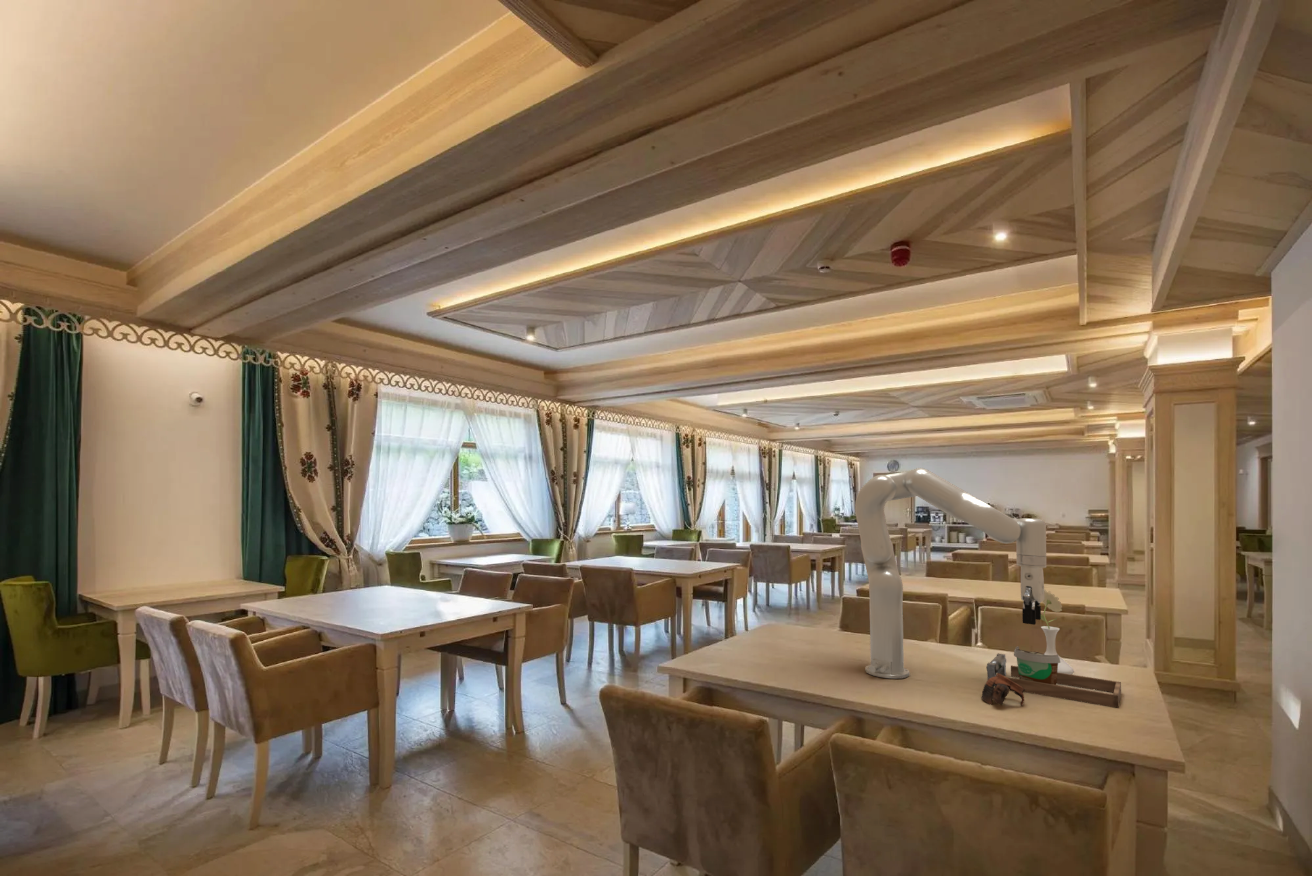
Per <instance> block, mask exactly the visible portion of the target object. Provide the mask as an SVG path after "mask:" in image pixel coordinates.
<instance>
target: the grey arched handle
mask: <svg viewBox="0 0 1312 876" xmlns="http://www.w3.org/2000/svg"><path fill="white" fill-rule="evenodd" d="M1006 664H1007V658H1006V654H1004V653H997V654H996V656H995V657H994V658H993V659H992V660H991V661H989V662H988V663H986V668H985V669H986V671H987V672H986V677H987V680H988V679H990V678H992V677H995V676H996V675H997V673H999V674H1001V675H1003V676H1005V677H1006V676H1007V665H1006ZM994 686H995V687H996V685H995V684H994ZM995 687H994V688H995Z"/></svg>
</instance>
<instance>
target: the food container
mask: <svg viewBox="0 0 1312 876" xmlns="http://www.w3.org/2000/svg"><path fill="white" fill-rule="evenodd" d="M1058 655H1059V654H1058ZM1058 655H1044V653H1041V652H1039V651H1038V652H1037V651H1028V650H1022V649H1020V646H1019V645H1018V646H1016V647H1015V649H1014V652H1013V656H1014V657H1016V663H1017V666H1018V672H1019V678H1018V679H1022V680H1029V681H1035V682H1041V683H1047V684H1053V685H1058V684H1057V670H1058V663H1060V658H1059V657H1058Z"/></svg>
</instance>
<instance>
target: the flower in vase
mask: <svg viewBox="0 0 1312 876" xmlns="http://www.w3.org/2000/svg"><path fill="white" fill-rule="evenodd" d="M1044 595H1045V599H1044V600H1043V601H1042V602H1041V603H1042V604H1044V610H1043V614H1041V619H1040V620H1042V621H1043V622H1045V623H1046V626H1045V625H1043V626H1040V628H1041V629H1042V631H1043V633H1044V636H1045V641H1046V650H1045V652H1044V653H1043V654H1044V655H1058V657H1059V658H1060V663H1058V670H1057V672H1058V673H1065V674H1071V675H1074V672H1075V670H1074V668H1073V666H1071V665H1070V663H1068V662H1067V661H1066V660H1065V659H1064V658H1063V657H1061V656H1060V655H1059V654H1058V653H1057V650H1056V649H1057V648H1056V637H1057V634H1058V632H1059V631H1060V628H1059V627H1057V626H1050V625H1049V623H1051V622H1053V621H1056V620H1057V619H1058V617H1057V616H1056V617H1055V618H1054V619H1051V620H1049V621H1048V620H1047V619H1046V610H1047V609H1048V610H1051V611H1052V612H1055V613H1060V612H1062V611H1063V609H1062V608H1063V605H1062V603H1061V601H1060V600H1059V597H1058V596H1056V595H1055V594H1054V593H1052V591H1050V590H1046V589H1045V588H1044Z"/></svg>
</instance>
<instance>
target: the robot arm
mask: <svg viewBox="0 0 1312 876" xmlns="http://www.w3.org/2000/svg"><path fill="white" fill-rule="evenodd" d="M914 497H918V498H919V499H922V500H923V501H924V502H926V503H928V504H930V505H932V506H933V507H935V508H936V509H938V510H940V511H942V512H943V513H945V514H947V515H949V516H950V517H952V518H954V519H957V520H960V521H961V522H964V523H966V524H968V525H970V526H972V527H974V528H976V529H978V530H979V531H981V532H983V533H985V534H986V535H987V536H988V537H989V538H990V539H991V540H994V541H995V542H999V543H1002V544H1007V545H1008V544H1012V543H1013V544H1014V543H1015V542H1016V549H1015V550H1016V558H1015V559H1016V567H1020V598H1021V600H1022V611H1021V613H1022V614H1021V615H1022V617H1021V618H1022V619H1021V620H1022V624H1025V625H1031V626H1032V625H1033V626H1035V625H1036V623H1037V620H1038V621H1040V620H1041V613H1042V611H1041V610H1042V609H1041V603H1043V602H1042V601H1043V600H1044V599H1045V595H1044V589H1045V584H1044V583H1045V579H1044V569H1045V568H1047V526H1046V525H1047V524H1046V522H1045V520H1044V519H1041V518H1033V517H1032V518H1031V517H1030V518H1028V517H1023V518H1013V517H1011V516H1009V515H1007V514H1005V513H1004V512H1002V511H1000V510H998V508H996V507H993V506H992V505H989V504H987V503H985V501H982V500H980V498H979V499H978V498H977V497H975V496H974V495H973V494H971V493H968V491H965V490H963V489H962V488H960V487H958V486H956V485H955V484H953V483H951V482H949V481H948V480H946V479H944V478H943V477H941V476H939V475H938V474H936V473H934V472H932V471H930V470H929V469H926V468H923V467H922V468H921V467H916V468H913V469H911V470H906V471H902V472H901V471H900V472H895V473H890V474H888V473H887V474H878V475H875V476H873V477H871V478H870V479H869V480H868V481H867V482H866V483H865V484H864V485H863V486H862V487H861V488H860V490H859V491H858V494H857V496H856V499H855V503H854V504H855V506H854V509H855V518H856V523H857V528H858V532H859V537H860V545H861V547H860V549H861V553H862V557H863V560H864V566H865V570H866V574H867V578H868V591H869V593H868V594H869V595H868V596H869V598H868V599H869V635H870V637H869V639H870V641H869V642H870V643H869V645H870V646H869V647H870V649H869V650H870V664H868V665H866V666H865V667H864V668H865V670H864V671H865V673H867V674H869V675H870V676H874V677H878V678H884V679H897V680H898V679H905V678H908V677H909V676H910V674H911V673H910V670H909V669H907V668H905V667H904V666H905V663H904V661H905V660H904V619H903V618H904V615H903V603H904V601H903V599H904V587H903V586H904V585H903V584H904V583H903V580H902V577H901V576H900V572H899V569H898V565H897V561H896V556H895V552H894V551H895V550H894V544H893V541H892V540H891V536H890V532H889V529H888V524H887V519H886V515H885V506H886V503H887V502H891V501H896V500H903V499H910V498H914Z"/></svg>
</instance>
